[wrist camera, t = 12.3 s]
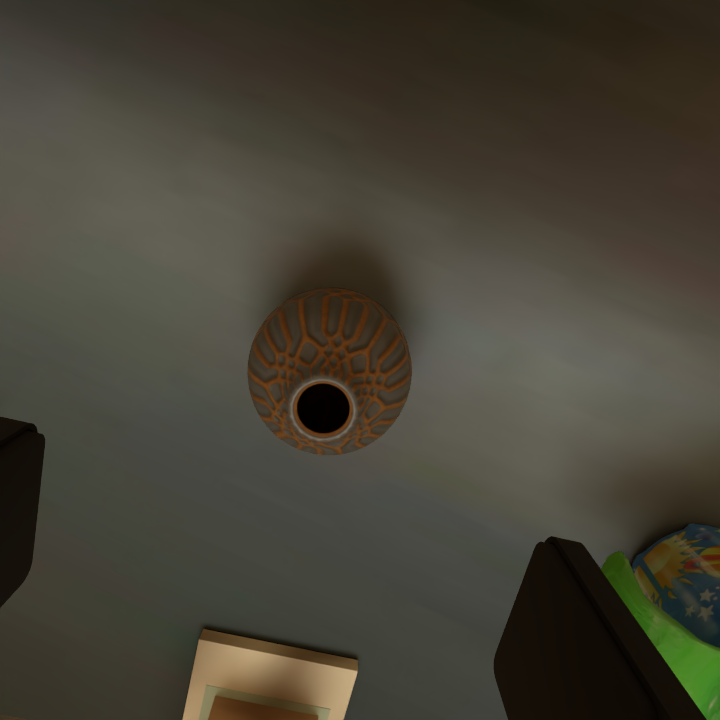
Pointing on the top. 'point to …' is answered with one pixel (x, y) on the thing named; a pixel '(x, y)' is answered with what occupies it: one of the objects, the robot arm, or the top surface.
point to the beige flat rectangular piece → (268, 677)
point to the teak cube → (252, 711)
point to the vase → (329, 371)
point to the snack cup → (678, 606)
